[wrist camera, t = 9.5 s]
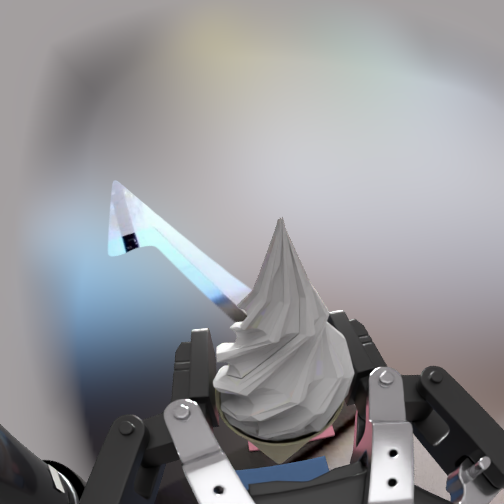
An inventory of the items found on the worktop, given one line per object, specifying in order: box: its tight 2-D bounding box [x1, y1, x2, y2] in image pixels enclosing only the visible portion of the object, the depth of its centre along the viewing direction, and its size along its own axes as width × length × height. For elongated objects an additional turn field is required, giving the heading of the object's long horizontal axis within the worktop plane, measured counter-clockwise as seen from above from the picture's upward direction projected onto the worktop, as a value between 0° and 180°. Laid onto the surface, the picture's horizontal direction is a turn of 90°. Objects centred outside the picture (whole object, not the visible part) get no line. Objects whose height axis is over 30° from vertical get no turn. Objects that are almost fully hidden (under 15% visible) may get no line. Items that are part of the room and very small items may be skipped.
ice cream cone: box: [213, 218, 354, 464], centre depth 11 cm, size 5×5×15 cm
